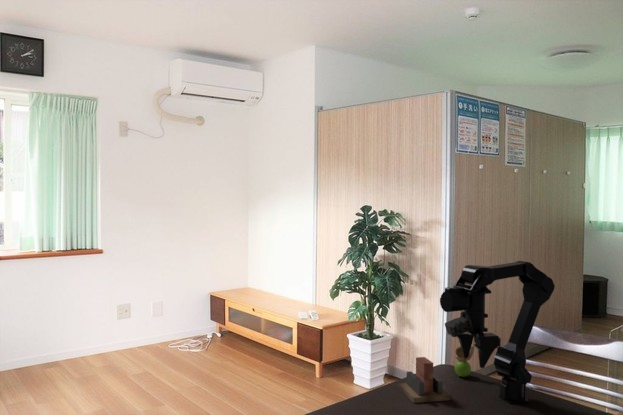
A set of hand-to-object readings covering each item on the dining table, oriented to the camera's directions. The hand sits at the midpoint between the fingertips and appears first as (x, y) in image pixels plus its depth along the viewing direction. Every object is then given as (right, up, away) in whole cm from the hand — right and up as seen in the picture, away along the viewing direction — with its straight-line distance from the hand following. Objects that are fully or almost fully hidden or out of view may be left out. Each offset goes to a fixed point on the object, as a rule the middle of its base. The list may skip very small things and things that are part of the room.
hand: (473, 362), depth 151 cm
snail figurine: (+5, -13, +26) cm, 29 cm away
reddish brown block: (-12, -11, +10) cm, 19 cm away
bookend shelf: (-12, -13, +10) cm, 20 cm away
